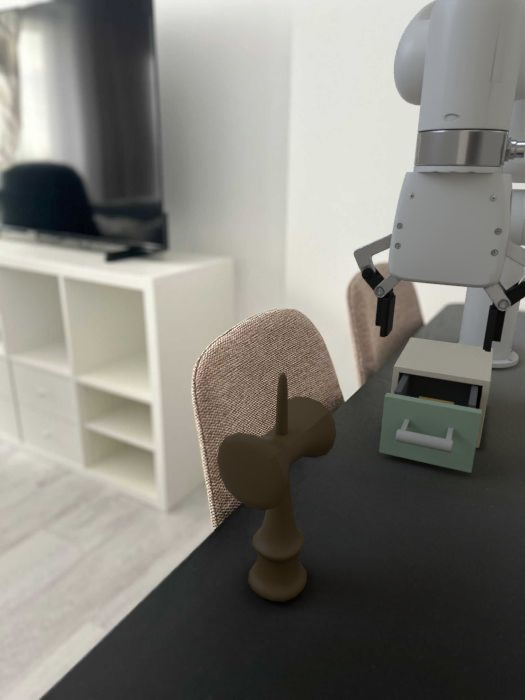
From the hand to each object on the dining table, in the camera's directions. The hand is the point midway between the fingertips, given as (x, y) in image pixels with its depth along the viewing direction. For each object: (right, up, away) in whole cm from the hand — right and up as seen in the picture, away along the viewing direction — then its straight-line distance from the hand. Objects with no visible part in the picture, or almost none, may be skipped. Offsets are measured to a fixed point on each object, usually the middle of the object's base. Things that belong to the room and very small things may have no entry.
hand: (434, 340), depth 51 cm
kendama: (-16, -22, -6) cm, 27 cm away
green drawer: (+4, -13, +15) cm, 21 cm away
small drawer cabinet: (+9, -11, +25) cm, 29 cm away
